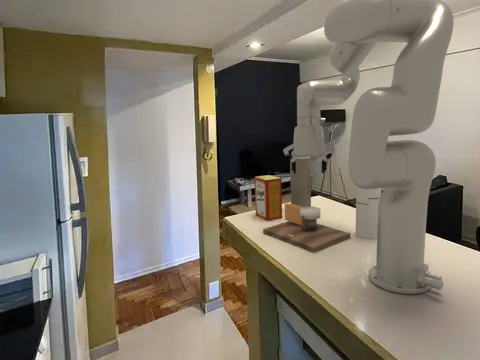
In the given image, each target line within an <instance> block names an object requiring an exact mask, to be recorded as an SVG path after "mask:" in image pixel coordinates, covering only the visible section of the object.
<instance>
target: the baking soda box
mask: <svg viewBox="0 0 480 360" xmlns="http://www.w3.org/2000/svg"><path fill="white" fill-rule="evenodd" d="M253 180H254V199H255V200H254V202H255V216H257V217H259V218H261V219H263V221H264V220H265V221H266V222H269V221H274V220H275V221H277V220H281V219H283V200H282V199H283V198H282V197H283V195H282V193H283V192H282V189H283V188H282V178H281V177H279V176H275V175H270V174H267V175H258V176H254V178H253Z"/></svg>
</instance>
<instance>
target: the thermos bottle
mask: <svg viewBox="0 0 480 360" xmlns="http://www.w3.org/2000/svg"><path fill="white" fill-rule="evenodd" d="M290 155H291V156H292V157H293V156H294V150H292V151H291V153H290ZM311 157H312V156H302V157H301V156H298V157H297V159H296V160H295V162H296V173H295V174H294V171H292V162H291V161H290V160H289V163H290V164H289V165H290V166H289V167H290V169H289V170H290V171H289V172H290V173H289V175H290V178H289V179H290V204H293V205H298V206H302V207H312V186H311V185H312V179H311V177H312V173H311V172H312V170H311V168H312V167H311V166H312V163H311V161H312V160H311Z"/></svg>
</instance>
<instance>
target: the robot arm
mask: <svg viewBox="0 0 480 360" xmlns="http://www.w3.org/2000/svg"><path fill="white" fill-rule="evenodd" d="M454 24H455V23H454V15H453V11H452V9H451V8H450V6H449V5H448V4H447V3H446V2H445V1H443V0H342V1H339V2H337V3H336V4H335V5H333V6H332V7H331V9H330V10H329V11H328V13H327V15H326V18H325V20H324V24H323V25H324V26H323V28H324V29H323V31H324V32H323V33H324V36H325V38H326V39H327V41H329V42H330V43H334V45H333V46H332V48H331V49H330V51H329V53H328V60H329V63H330V64H331V66H332V68H334V69H335V71H337V72H339V73H340V74H342V76H341V77H340V78H338V79H322V80H319V79H317V80H309V81H307V82H305V83H302V84H300V85H298V86H297V88H296V117H297V118H296V124H297V125H296V126H295V127H294V132H293V143H292V144H291V145H288V146H287V147H285V148H284V149H283V154H284V155H285V157H286V158H287V159H288V160H289V162H290V161H291V162H292V171H294V174H295V173H296V162H295V160H296V159H297V157H298V156H301V157H302V156H310V157H320V158H321V159H322V160H321V173H322V174H325V171H327V164H328V163H327V162H328V160H329V159H330V158H331V157H333V154H334V153H335V151H336V148H335V147H334V146H332V145H329V144H328V143H326V142H325V135H324V129H323V128H324V127H323V125H321V124H322V123H326V118H325V117H321V107H323V106H338V105H342V104H344V103H346V102H347V101H348V100H349V99H350V98H351V96H353V94H354V93H355V92H356V90H357V88H358V86H359V83H360V76H361V73H360V65H361V64H363V61H364V60H365V59H366V57H367V56H368V55H369V54H370V52H371V51H372V50H373V48H374V47H375V46H376V45H377V44H378V43H406V45H405V46H404V47H403V48H402V50H401V51H400V53H399V55H398V56H397V57H396V58H397V59H396V60H395V62H394V65H393V72H392V80H391V85H390V86H379V87H377V86H376V87H372V88H370V89H367V90H366V91H364V92H363V93H362V94H361V95H360V96H359V97H358V99H357V101H356V103H355V105H354V109H353V112H352V119H351V129H350V141H349V152H348V173H349V177H350V179H351V181H352V183H353V184H354V186H358V187H360V188H362V189H378V188H381V189H383V190H382V191H381V197H380V200H379V204H378V227H377V238H376V260H375V261H376V262H375V263H376V264H375V265H374V266H372V267H370V268H369V270H368V278H369V280H370V282H372V283H373V284H374V285H376V286H377V287H379V288H381V289H384V290H386V291H389V292H393V293H397V294H406V295H417V294H422V293H425V292H428V290H430V288H432V289H435V290H437V291H442V289H443V288H444V281H443V280H442V279H443V277H442V276H440V275H438V274H433V273H431V271H429V267H430V265H429V264H426V263H425V247H426V234H427V233H426V232H427V231H426V230H427V217H428V202H429V197H430V196H429V195H430V189H431V185H432V182H433V178H434V174H435V170H436V156H435V153H434V151H433V150H432V148H431V147H430V146H429V145H428V144H426V143H424V142H422V141H419V140H412V139H411V140H410V139H409V140H408V139H404V140H402V139H401V140H390V141H388V139H389V137H393V136H407V135H408V136H409V135H415V134H416V135H417V134H421V133H423V132H425V131H427V130H429V129H430V127H432V125H433V123H434V121H435V118H436V113H437V106H438V101H439V96H440V91H441V83H442V77H443V69H444V63H445V59H446V56H447V53H448V49H449V46H450V43H451V40H452V35H453V29H454ZM292 149H293V150H292ZM325 149H328V150H329V152H327V154H326V155H325ZM291 150H292V151H294V156H293V157H292V155H291V154H290V153H289V151H291Z"/></svg>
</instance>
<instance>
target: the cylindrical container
mask: <svg viewBox="0 0 480 360" xmlns="http://www.w3.org/2000/svg"><path fill="white" fill-rule="evenodd" d="M355 186H356V185H355ZM355 188H356V191H355V193H356V195H355V196H356V197H355V236H356V237H358V238H361V239H367V240H375V239H376V240H377V227H378V204H379V200H380V197H381V194H382V188H378V189H362V188H360V187H358V186H356V187H355Z"/></svg>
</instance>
